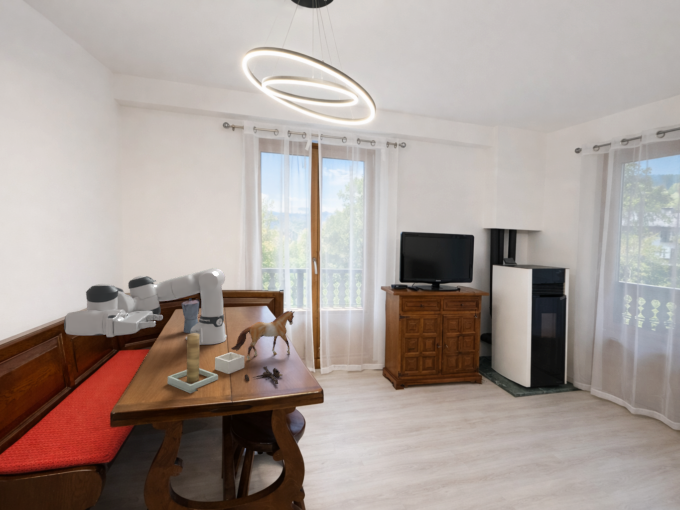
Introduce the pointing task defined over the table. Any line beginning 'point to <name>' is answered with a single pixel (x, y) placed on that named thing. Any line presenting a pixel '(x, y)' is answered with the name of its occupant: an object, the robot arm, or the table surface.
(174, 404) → the table surface
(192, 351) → the dowel
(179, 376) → the tray
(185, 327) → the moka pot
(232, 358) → the white square box
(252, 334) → the horse figurine
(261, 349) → the table surface
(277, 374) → the bear figurine
